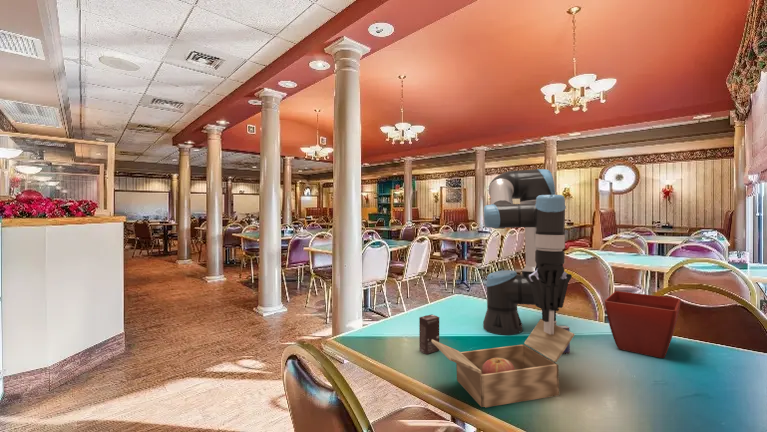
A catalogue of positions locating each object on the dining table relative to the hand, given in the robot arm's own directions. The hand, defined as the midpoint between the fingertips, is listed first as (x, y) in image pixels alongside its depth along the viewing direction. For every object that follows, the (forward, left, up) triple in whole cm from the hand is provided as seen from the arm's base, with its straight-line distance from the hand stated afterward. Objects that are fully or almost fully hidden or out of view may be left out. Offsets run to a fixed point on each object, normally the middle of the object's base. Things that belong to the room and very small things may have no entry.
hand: (548, 332), depth 102 cm
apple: (+16, 0, -14) cm, 21 cm away
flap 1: (+25, 0, -5) cm, 25 cm away
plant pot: (-45, -11, -14) cm, 48 cm away
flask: (-15, -17, -14) cm, 27 cm away
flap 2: (+3, 0, -5) cm, 6 cm away
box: (+25, -30, -14) cm, 41 cm away
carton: (+14, 0, -14) cm, 20 cm away
